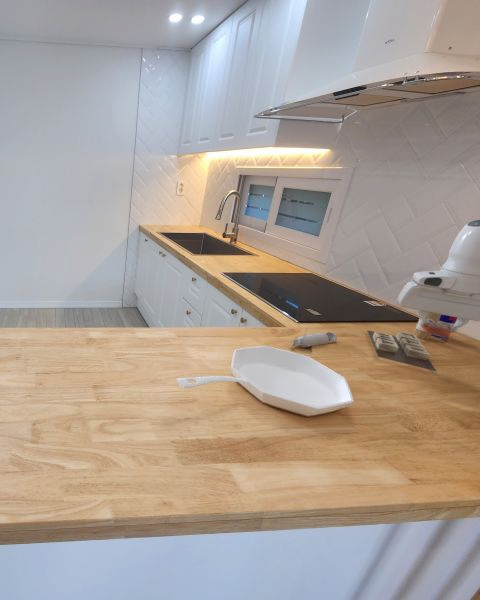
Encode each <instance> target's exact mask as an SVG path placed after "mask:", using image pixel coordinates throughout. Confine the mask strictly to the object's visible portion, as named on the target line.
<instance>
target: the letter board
mask: <svg viewBox="0 0 480 600" xmlns="http://www.w3.org/2000/svg"><path fill="white" fill-rule="evenodd" d="M366 332H367V334H368V336H369V338H370V341H371V343H372V345H373V348H374V350H375V353H376V355H377V357H378V358H381V359H385V360H388V361H389V360H390V361H393V362H398V363H402V364H406V365H409V366H413V367H418V368H422V369H426V370H430V371H433V372H437V369H436V368H435V366H434V365H433V363H432V362H431V361H430V359H429V358H428V359H427V361H426V360H422V359H418V358H414V357H410V356H407V355H406V353H405V351H404V349H403V348H402V346H401V345H400V342H399V341H398V340H397V338H396V335H392V337H393V338H394V340H395V342H396V344H397V345H398V347H399V348H398V351H397V353H393V352H389V351H385V350H380V349H378V348H377V346H376V344H375V343H376V342H374V339H373V334H374V332H375V331H373V330H368V329H367V330H366Z"/></svg>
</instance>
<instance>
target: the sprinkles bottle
mask: <svg viewBox="0 0 480 600" xmlns="http://www.w3.org/2000/svg"><path fill="white" fill-rule="evenodd" d="M424 316H425V319H426V320H428V321H429V322H432V323H438V321H439V319H440V316H441V314H437V313H432V312H429V313H428V314H427V315H424ZM420 320H421V318H420V317H419V319H418V321H417V323H416V325H415V328H414V330H413V332H412V333H411V334H412V335H416V337H417V338H418V339H420V340H427V341H429V340H430V338H431V337H432V336H431V334H430V333H426V332H425V330H424V329H423V328H422V326H420V325H419V322H420Z"/></svg>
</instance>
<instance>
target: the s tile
mask: <svg viewBox="0 0 480 600" xmlns="http://www.w3.org/2000/svg"><path fill="white" fill-rule="evenodd" d="M422 328H423V329H424V330H425V332H426V333H430V334H434V335H439V336H444V337H448V338H449V337H450V335H451V334H452V332H451V330H450V329H449V328H448V327H447V326H446V325H442V324H437V323H432V322H429V324H428V326H427V327H424V326H422Z"/></svg>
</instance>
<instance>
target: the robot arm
mask: <svg viewBox="0 0 480 600" xmlns="http://www.w3.org/2000/svg"><path fill="white" fill-rule="evenodd" d="M396 298H397V299H396V303H397V305H399V307H402V308H407V309H411V310H417V311H418V315H419V319H420V318H421V320H420V322H419V325H420V326H424V327H427V326H428V324H429V321H428V320H426V319H425V316H424V315H427V314H428V313H429V312H432V313H437V314H442V315H447V316H452V317H458V318H457V320H458V321H456V322H455V324H453V325H451V324H449V325H448V328H449V329H450V330H451V334H452V333H453V334H456V333H457V331H458V330H459V328H462V327H464V326H465V325H468V323H469V321H473V322H474V321H475V322H479V323H480V219H475V220H472V221H469V222H467V223H466V224H465V225H464V226H463V227H462V228H461V229H460V230H459V232H458V234H457V235H456V237H455V239H454V241H453V242H452V244H451V246H450V249H449V250H448V258H447V259H446V261H445V262H444V263H443V264H442V265H441V268H440V269H439V270H427V271H416V272H414V273H413V275H412V280H410V281H408V282H407V283H406V284H405V285H404V286H403V288H402V289H401V291H400V292H399V294H398V296H397V297H396Z"/></svg>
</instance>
